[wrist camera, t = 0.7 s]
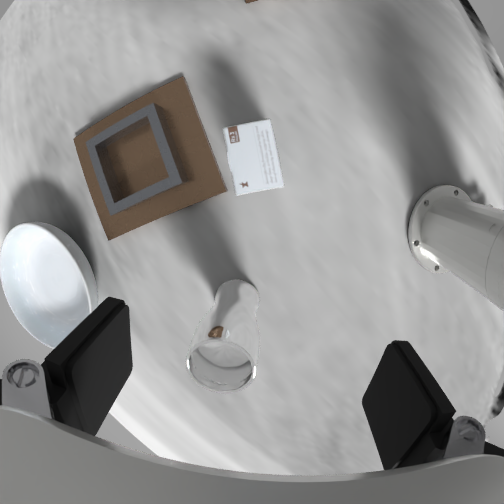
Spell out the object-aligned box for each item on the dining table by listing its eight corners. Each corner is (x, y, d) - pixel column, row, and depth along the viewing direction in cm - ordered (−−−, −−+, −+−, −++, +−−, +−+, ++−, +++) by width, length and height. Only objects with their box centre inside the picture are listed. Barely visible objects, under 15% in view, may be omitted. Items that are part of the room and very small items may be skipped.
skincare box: (283, 183, 35) (290, 189, 23) (247, 189, 35) (235, 200, 24) (273, 134, 33) (275, 116, 21) (237, 141, 34) (220, 127, 22)
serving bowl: (69, 346, 45) (50, 365, 38) (10, 255, 41) (-14, 266, 34) (137, 301, 41) (117, 324, 34) (65, 187, 36) (35, 192, 30)
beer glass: (201, 295, 40) (168, 360, 25) (240, 265, 38) (222, 323, 24) (235, 330, 41) (218, 404, 26) (273, 303, 39) (273, 375, 25)
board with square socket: (185, 78, 32) (175, 69, 28) (227, 190, 35) (222, 193, 32) (77, 139, 34) (60, 138, 30) (112, 238, 38) (97, 246, 34)
